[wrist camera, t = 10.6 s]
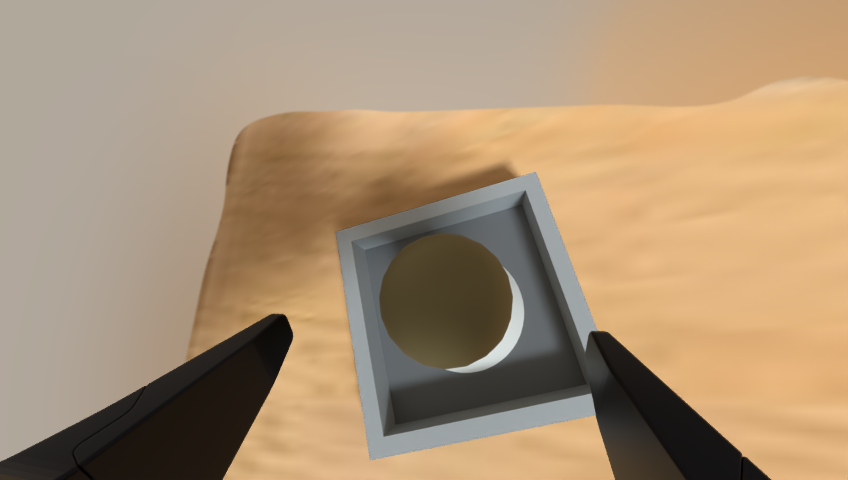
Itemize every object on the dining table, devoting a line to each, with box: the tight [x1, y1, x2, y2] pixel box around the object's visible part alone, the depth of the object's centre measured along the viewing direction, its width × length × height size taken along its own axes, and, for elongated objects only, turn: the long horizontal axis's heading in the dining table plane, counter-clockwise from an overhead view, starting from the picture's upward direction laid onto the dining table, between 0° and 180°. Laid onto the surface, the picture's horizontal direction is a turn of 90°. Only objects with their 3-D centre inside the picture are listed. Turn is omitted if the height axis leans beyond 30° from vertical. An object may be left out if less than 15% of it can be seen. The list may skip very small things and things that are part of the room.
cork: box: [379, 233, 513, 369], centre depth 16 cm, size 6×6×11 cm
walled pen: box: [336, 172, 597, 460], centre depth 21 cm, size 14×14×3 cm
